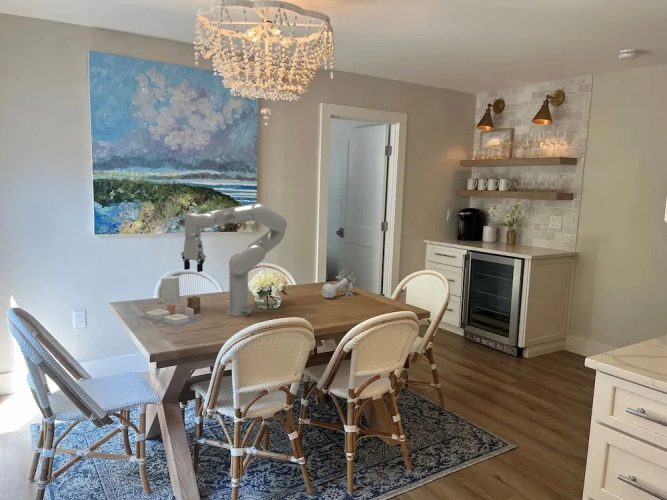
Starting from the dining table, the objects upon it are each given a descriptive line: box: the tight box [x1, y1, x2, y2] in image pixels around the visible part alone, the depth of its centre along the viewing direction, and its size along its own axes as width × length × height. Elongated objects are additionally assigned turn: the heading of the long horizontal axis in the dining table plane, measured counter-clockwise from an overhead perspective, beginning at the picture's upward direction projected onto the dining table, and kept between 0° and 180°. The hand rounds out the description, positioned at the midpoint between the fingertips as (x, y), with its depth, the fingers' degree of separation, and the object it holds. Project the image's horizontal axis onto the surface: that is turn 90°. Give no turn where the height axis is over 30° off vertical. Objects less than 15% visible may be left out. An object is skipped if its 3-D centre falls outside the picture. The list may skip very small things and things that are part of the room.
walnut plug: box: [186, 296, 201, 315], centre depth 256 cm, size 4×4×9 cm
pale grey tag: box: [185, 307, 195, 320], centre depth 245 cm, size 4×1×5 cm, turn 56°
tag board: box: [138, 308, 203, 329], centre depth 244 cm, size 29×16×4 cm, turn 56°
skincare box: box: [160, 275, 181, 305], centre depth 275 cm, size 8×7×16 cm
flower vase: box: [321, 267, 357, 299], centre depth 308 cm, size 13×18×25 cm
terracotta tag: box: [166, 303, 176, 315], centre depth 253 cm, size 4×1×5 cm, turn 56°
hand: (193, 270), depth 254 cm, fingers open, 9 cm apart
